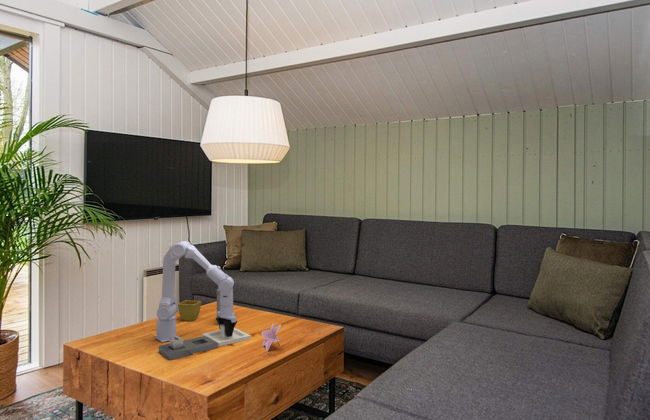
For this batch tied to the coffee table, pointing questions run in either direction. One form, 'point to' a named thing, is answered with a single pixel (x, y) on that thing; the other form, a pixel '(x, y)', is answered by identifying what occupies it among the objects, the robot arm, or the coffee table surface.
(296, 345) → the coffee table surface
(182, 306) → the flower pot
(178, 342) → the billet
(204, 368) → the coffee table surface
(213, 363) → the coffee table surface
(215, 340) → the white square tray
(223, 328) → the block
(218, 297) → the hip flask
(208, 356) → the coffee table surface
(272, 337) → the lily
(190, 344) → the metal frame
